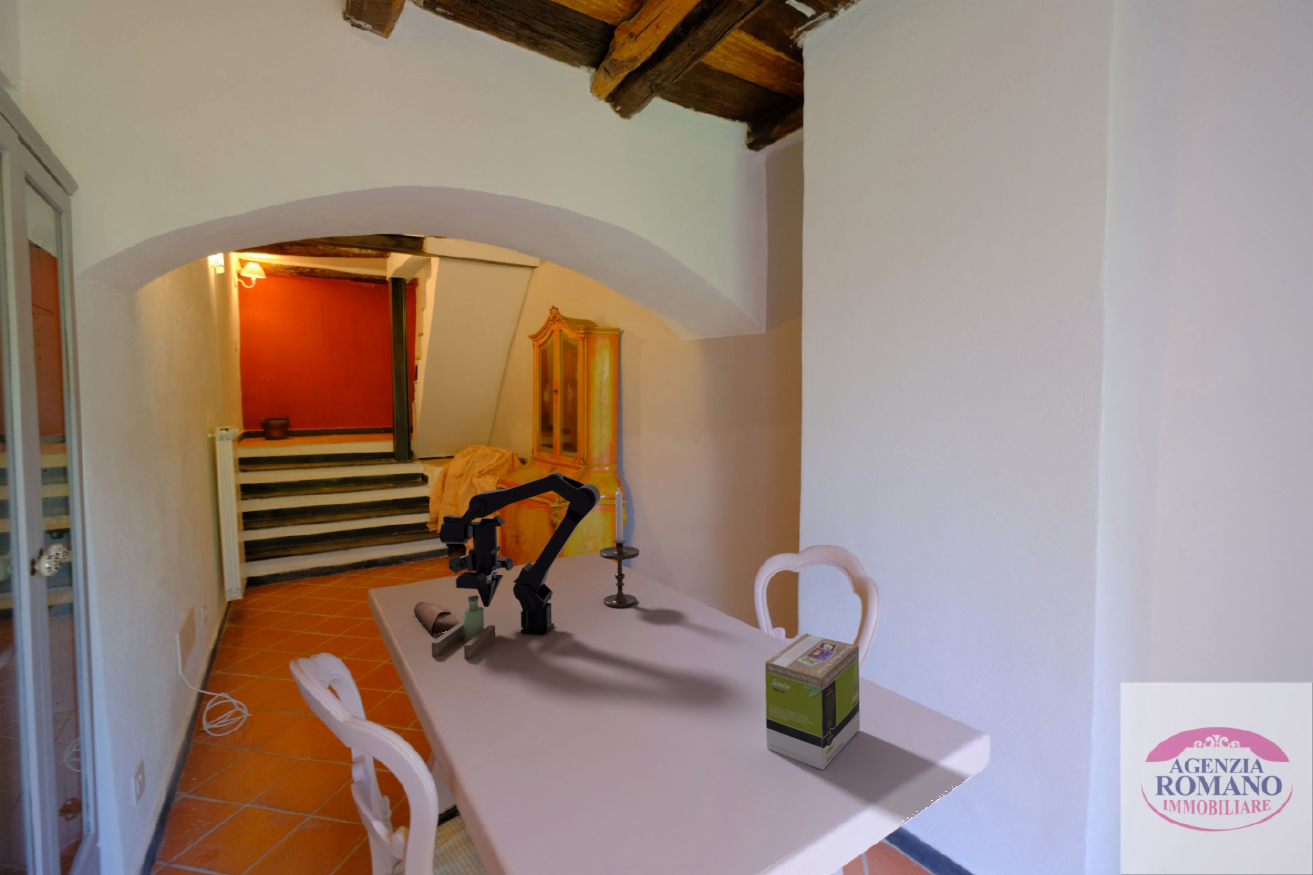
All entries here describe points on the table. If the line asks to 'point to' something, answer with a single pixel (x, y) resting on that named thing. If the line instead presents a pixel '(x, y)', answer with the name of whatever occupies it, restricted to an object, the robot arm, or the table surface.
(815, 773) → the table surface
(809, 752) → the tea box
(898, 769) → the table surface
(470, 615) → the bottle
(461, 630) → the cradle
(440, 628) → the sunglasses case
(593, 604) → the table surface
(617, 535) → the candlestick
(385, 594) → the table surface
